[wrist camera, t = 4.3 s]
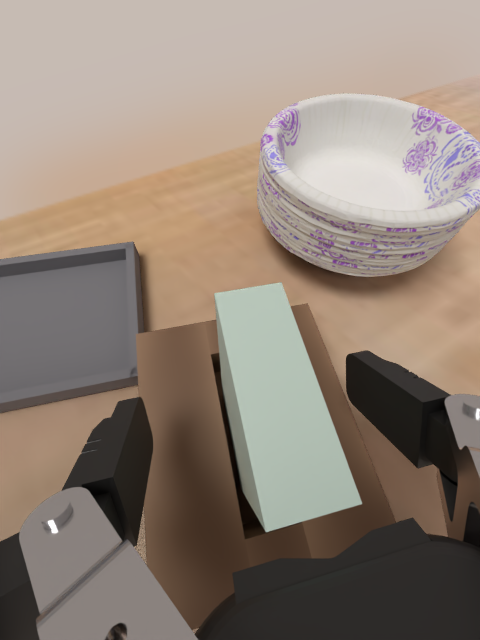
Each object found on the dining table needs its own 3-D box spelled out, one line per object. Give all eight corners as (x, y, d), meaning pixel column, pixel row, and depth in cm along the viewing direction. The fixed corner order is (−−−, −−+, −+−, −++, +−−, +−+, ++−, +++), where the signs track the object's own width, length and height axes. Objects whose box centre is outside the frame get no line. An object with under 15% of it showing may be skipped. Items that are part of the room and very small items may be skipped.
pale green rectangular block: (240, 488, 14) (265, 532, 5) (222, 395, 17) (214, 293, 7) (273, 480, 14) (362, 503, 5) (251, 388, 17) (281, 282, 7)
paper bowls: (237, 188, 27) (240, 93, 20) (374, 174, 29) (419, 82, 22) (278, 317, 20) (304, 239, 13) (455, 287, 22) (557, 205, 15)
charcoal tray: (-120, 437, 16) (-155, 434, 14) (-64, 284, 21) (-85, 270, 19) (147, 382, 18) (140, 375, 16) (139, 255, 23) (133, 241, 21)
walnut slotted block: (172, 595, 13) (150, 643, 9) (153, 359, 18) (135, 334, 15) (365, 535, 14) (410, 557, 11) (293, 332, 20) (307, 303, 16)
